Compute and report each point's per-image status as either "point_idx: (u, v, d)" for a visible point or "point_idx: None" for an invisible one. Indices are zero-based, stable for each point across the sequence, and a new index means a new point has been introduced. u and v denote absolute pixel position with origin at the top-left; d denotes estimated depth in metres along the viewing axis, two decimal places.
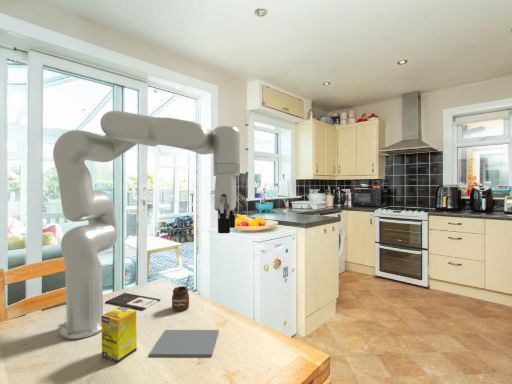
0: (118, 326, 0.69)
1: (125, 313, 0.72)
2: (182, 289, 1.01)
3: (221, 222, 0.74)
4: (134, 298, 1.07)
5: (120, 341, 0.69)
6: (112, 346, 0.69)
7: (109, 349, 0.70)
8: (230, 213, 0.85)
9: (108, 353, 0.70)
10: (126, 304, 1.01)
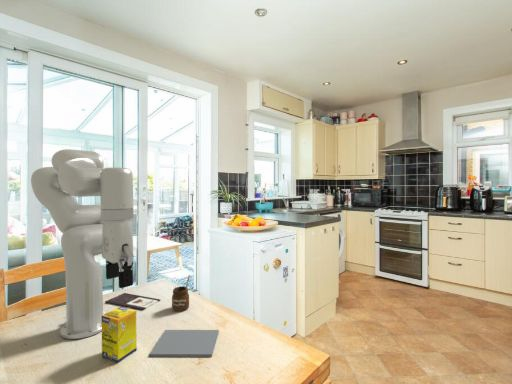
0: (118, 326, 0.69)
1: (125, 313, 0.72)
2: (182, 289, 1.01)
3: (125, 275, 0.67)
4: (134, 298, 1.07)
5: (120, 341, 0.69)
6: (112, 346, 0.69)
7: (109, 349, 0.70)
8: None
9: (108, 353, 0.70)
10: (126, 304, 1.01)
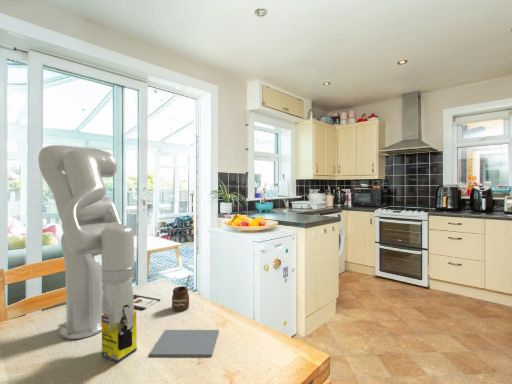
0: (118, 326, 0.69)
1: None
2: (182, 289, 1.01)
3: (124, 338, 0.68)
4: (134, 298, 1.07)
5: None
6: (112, 346, 0.69)
7: (109, 349, 0.70)
8: None
9: (108, 353, 0.70)
10: None
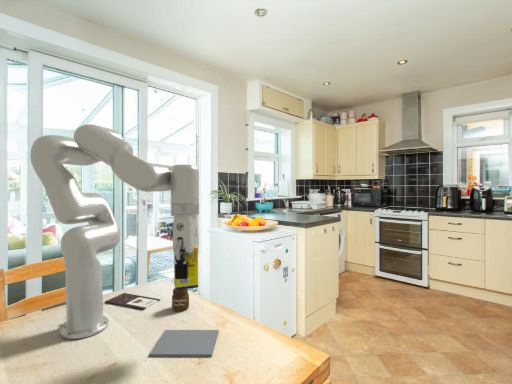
0: None
1: None
2: None
3: None
4: (134, 298, 1.07)
5: None
6: None
7: None
8: None
9: None
10: (126, 304, 1.02)
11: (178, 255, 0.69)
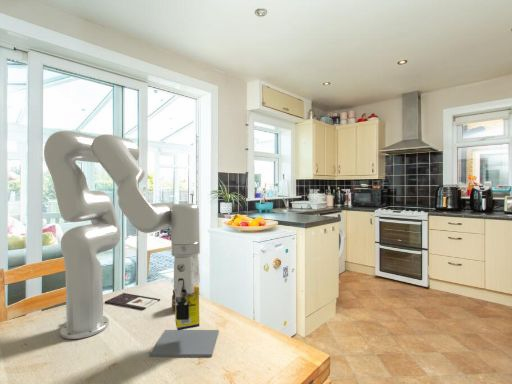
0: None
1: None
2: None
3: None
4: (134, 298, 1.07)
5: None
6: None
7: None
8: None
9: None
10: (126, 304, 1.02)
11: (179, 298, 0.69)
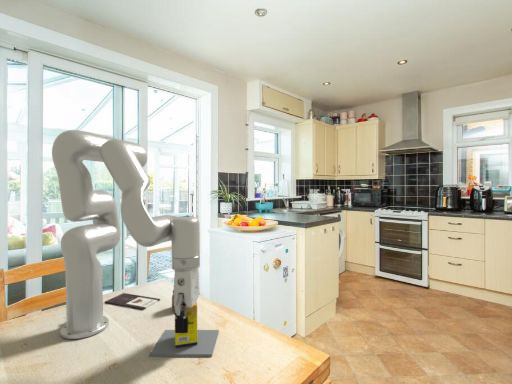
0: None
1: None
2: None
3: None
4: (134, 298, 1.07)
5: None
6: None
7: None
8: None
9: None
10: (126, 304, 1.02)
11: (178, 310, 0.69)
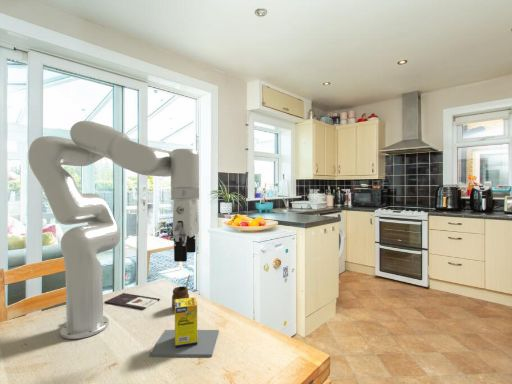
0: None
1: (184, 299, 0.79)
2: (182, 289, 1.01)
3: None
4: (133, 298, 1.07)
5: None
6: None
7: None
8: None
9: None
10: (126, 304, 1.02)
11: (177, 235, 0.68)
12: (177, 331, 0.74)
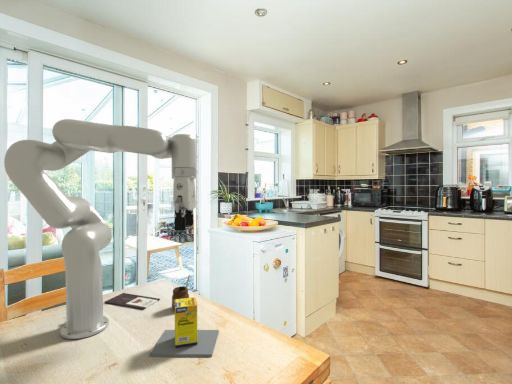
0: None
1: (184, 299, 0.79)
2: (182, 289, 1.01)
3: None
4: (133, 298, 1.07)
5: None
6: None
7: None
8: None
9: None
10: (126, 304, 1.02)
11: (177, 207, 0.80)
12: (177, 331, 0.74)
